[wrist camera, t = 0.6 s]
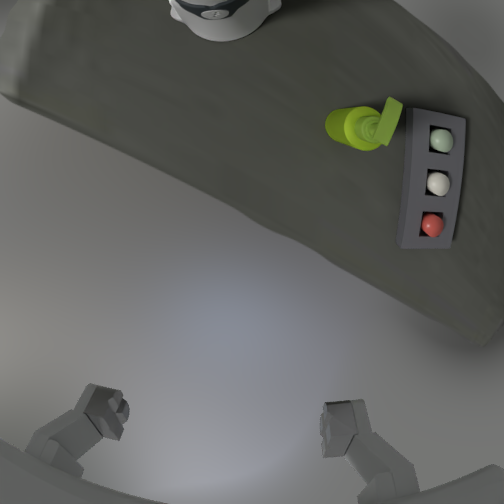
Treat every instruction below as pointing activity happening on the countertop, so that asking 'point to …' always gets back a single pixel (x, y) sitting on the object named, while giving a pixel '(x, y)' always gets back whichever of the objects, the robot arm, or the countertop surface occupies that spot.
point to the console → (416, 176)
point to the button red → (431, 224)
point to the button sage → (440, 140)
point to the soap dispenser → (364, 125)
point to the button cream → (437, 183)
